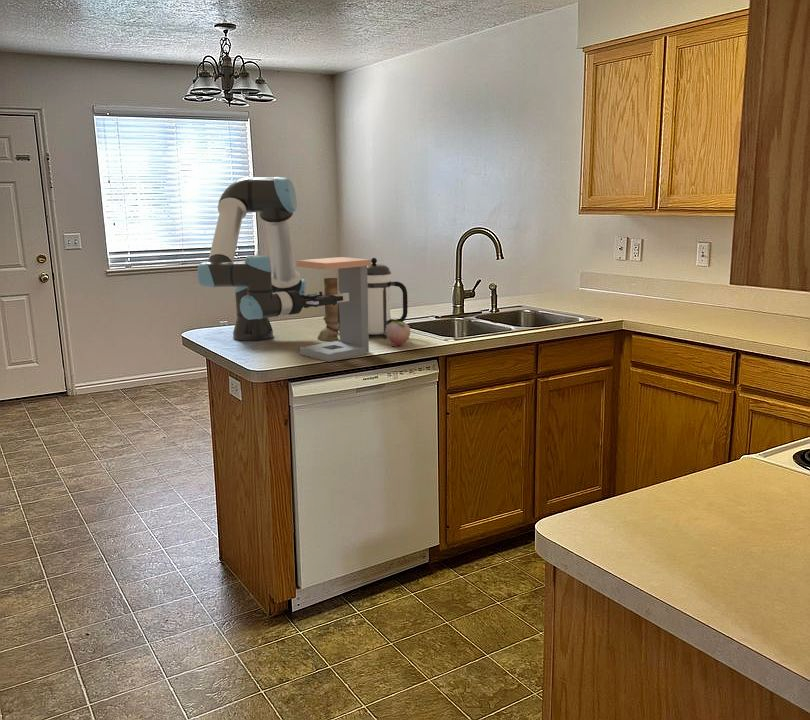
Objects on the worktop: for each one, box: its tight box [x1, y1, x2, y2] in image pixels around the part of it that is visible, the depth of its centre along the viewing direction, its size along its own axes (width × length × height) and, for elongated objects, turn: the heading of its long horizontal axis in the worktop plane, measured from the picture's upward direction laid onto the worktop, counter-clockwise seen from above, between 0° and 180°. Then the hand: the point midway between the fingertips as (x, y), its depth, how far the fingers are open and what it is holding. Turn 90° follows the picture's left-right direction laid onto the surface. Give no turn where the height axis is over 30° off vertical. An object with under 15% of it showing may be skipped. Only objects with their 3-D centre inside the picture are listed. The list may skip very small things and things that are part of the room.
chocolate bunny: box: [317, 316, 340, 341], centre depth 280 cm, size 6×8×10 cm
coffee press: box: [367, 257, 409, 339], centre depth 284 cm, size 17×16×30 cm
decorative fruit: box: [385, 318, 411, 347], centre depth 267 cm, size 9×8×10 cm
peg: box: [323, 277, 339, 325], centre depth 250 cm, size 4×4×15 cm
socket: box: [295, 256, 372, 362], centre depth 252 cm, size 16×19×32 cm
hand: (343, 296), depth 254 cm, fingers closed on peg, 4 cm apart
